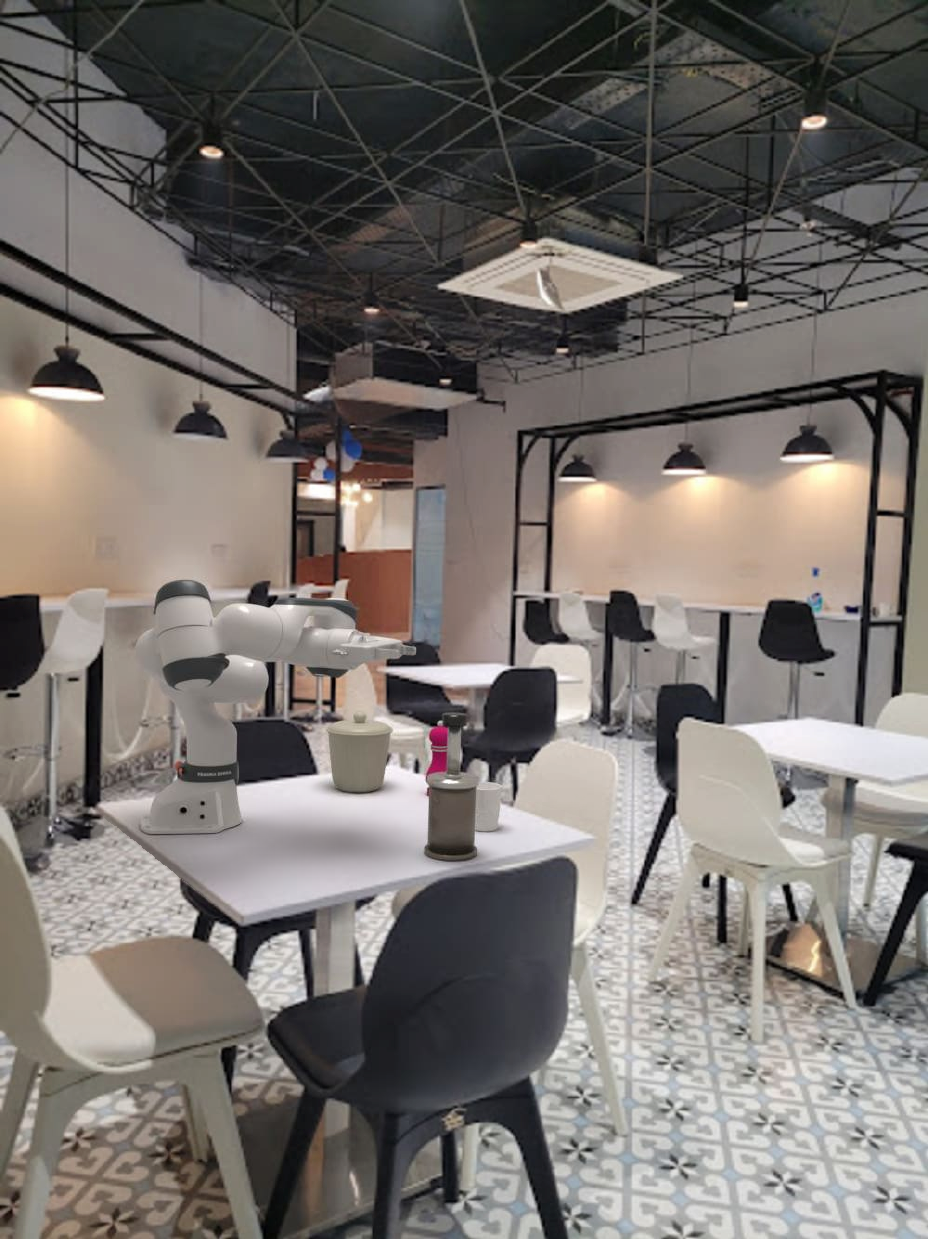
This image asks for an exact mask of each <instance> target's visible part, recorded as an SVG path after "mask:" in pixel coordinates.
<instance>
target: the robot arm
mask: <svg viewBox="0 0 928 1239" xmlns="http://www.w3.org/2000/svg"><path fill="white" fill-rule="evenodd" d="M211 603H212V599H211V597H210V594H209V591H208V589H207V587H206V586H205V585H204V584H203V583H201V582H199V581H197V580H192V579H176V580H172V581H169V582H167V583H164V584H163V585H162V586H161V587H160V588H159V589H158V590H157V592H156V596H155V600H154V607H153V613H152V614H153V615H154V616H155V627H153V628H150V629H148V630H147V631H144V632H143V633H142V634H141V635H140V636H139V638H138V640H136V643H135V647H134V657H135V661H136V662H137V664H138V665H139V667H140V668H141V669H142V671H144V672H145V673H146V674H148V675H149V676H151V678H153V679H154V680H157V685H158V688H159V689H160V692H162V694H163V695H164V696H166V697H167V698H168V699H169V700H170V701H171V702H172V703H173V705H174V706H175V707H176V709H177V710H178V712H179V713H180V717H181V718H182V721H183V724H184V727H185V728H184V730H185V737H186V738H185V739H186V761H185V762H184V761H183V762H182V761H180V760H177V761H176V762H175V763H174V765H173V766H174V769H175V771H176V776H177V778H176V779H175V780H174V781H173V782H171V783H170V784H169V785H168V786H166V787H164V788H163V789H161V791H159V792H158V793H156V795H155V796H154V798H153V799H152V803H151V806H150V812H149V814H146V815H144V816H142V817H141V819H140V821H139V828H140V830H141V831H142V832H143V833H146V834H149V835H168V834H169V835H174V834H175V835H176V834H177V835H179V834H185V835H186V834H217V833H218V834H219V833H220V832H222V831H224V830H227V829H229V828H232V827H236V826H237V825H239V824H240V825H241V823H243V817H242V814H241V813H242V812H241V810H240V804H239V797H238V785H239V784H238V783H239V774H240V773H239V772H240V771H239V761H238V759H237V749H238V748H237V746H238V745H237V744H238V741H237V740H238V738H237V736H238V732H237V728H236V727H235V725H234V724H233V723H232V722H231V720H229V719H227V718H226V717H224V716H222V715H221V713H219V711H218V708H217V706H216V704H215V703H217V704H218V703H219V704H232V705H233V704H235V705H236V704H245V703H246V704H247V703H253V702H257V701H258V702H259V700H260V699H261V698H262V697H263V696H264V695H265V693H266V691H267V689H268V686H269V681H270V680H269V678H270V677H269V674H268V669H267V667H266V666H265V665H264V663H263V662H266V663H276V662H280V661H281V662H283V663H286V664H289V665H293V666H299V667H305V668H306V669H307V671H309V673H310V674H311V675H313V677H316V678H317V677H321V678H322V677H323V678H324V677H330V678H333V679H334V678H335V679H339V678H341V677H343V676H344V675H346V674H347V673H348V671H349V670H350V671H354V670H356V669H357V668H358V667H359V666H361V665H363V664H371V663H375V662H380V661H385V660H389V659H391V660H397V659H400V658H401V657H402V656H403V655H404V656H405V655H406V656H415V655H417V654H416V653H417V647H415V646H409V645H405V644H403V641H402V640H400V639H395V638H392V637H391V638H390V637H383V636H376V635H371V633H369V632H361V631H359V630H358V629H356V627H357V622H358V617H359V611H358V609H357V608H356V606H355V605H354V604H353V602H352V601H351V600H347V598H343V597H342V598H341V597H327V598H314V597H312V598H311V597H281V598H278V599H276V600H275V602H274V603H273V605H271V606H270V607H267V606H263V605H261V604H260V605H259V604H253V603H244V602H243V603H242V602H241V603H240V602H239V603H238V602H237V603H236V602H235V603H232V604H229V605H227V606H225V607H223V608H222V609H221V610H220V611H219V612H218V614H217V616H216V617H214V614H213V611H212V606H211ZM308 617H313V626H312V627H310V626H309V627H308V626H307V627H305V623H306V621H307V619H308Z"/></svg>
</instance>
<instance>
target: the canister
mask: <svg viewBox="0 0 928 1239" xmlns="http://www.w3.org/2000/svg"><path fill="white" fill-rule="evenodd" d="M352 718H353V719H344V720H340V721H336V722H334V723H333V722H332V723H331V724H330V725H329V726H327V727H325V730H326V732H327V734H328V744H329V756H330V757H329V758H330V768H331V777H332V781H333V784H334V787H335V788H336V789H337V790H338V789H339V790H341V791H343V792H349V793H368V792H369V793H370V792H374V791H376V790H378V789H380V788H381V787H382V785H383V783H384V780H385V775H386V770H387V769H386V768H387V761H388V756H389V755H388V754H389V747H390V741H391V740H390V739H391V734H392V733H393V732H394V728H393V727H390V726H389V725H388V723H385V722H383V721H377V720H373V719H372V720H371V719H370V720H369V719H367V714H366V712H364V711H356V712H354V714H353V717H352Z"/></svg>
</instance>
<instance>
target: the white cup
mask: <svg viewBox="0 0 928 1239" xmlns="http://www.w3.org/2000/svg"><path fill="white" fill-rule="evenodd" d="M502 788H503V786H502V785H501V784H499V783H496V782H492V781H491V782H490V781H479V785H478V786H476V815H475V832H476V831H477V832H493V831H494V832H495V831H496V830H498V828H499V818H500V812H501V804H502V803H501V800H502Z"/></svg>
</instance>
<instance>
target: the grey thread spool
mask: <svg viewBox="0 0 928 1239" xmlns="http://www.w3.org/2000/svg"><path fill="white" fill-rule="evenodd" d="M479 782H480V777H479V776H478V775H475V774H473V773H469V772H462V771H460V774H459V775H448V774H447V772H437V773H432V774H429V775H428V776H427V783H426V784H427V786H428V787H429V796H428V807H427V808H428V810H427V811H428V814H427V815H428V816H427V817H428V818H427V841H426V842H427V844H426V845H425V846H424V851H423V853H424V855H425V856H426V857H428V858H430V859H432V860H437V861H442V862H463V861H468V860H472V859H474V858H476V857H477V856H478V847H477V846H476V845H475V841H476V840H475V839H476V830H475V815H476V786H478V785H479Z"/></svg>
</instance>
